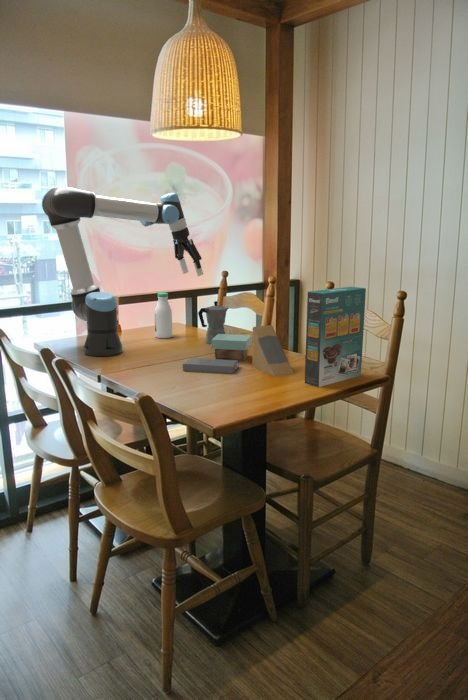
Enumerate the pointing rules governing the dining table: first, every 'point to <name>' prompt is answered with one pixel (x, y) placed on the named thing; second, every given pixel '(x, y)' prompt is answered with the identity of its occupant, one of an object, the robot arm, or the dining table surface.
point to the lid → (231, 342)
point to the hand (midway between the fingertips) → (193, 274)
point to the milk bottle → (163, 317)
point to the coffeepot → (213, 320)
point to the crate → (231, 354)
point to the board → (210, 365)
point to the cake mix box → (334, 335)
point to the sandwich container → (269, 352)
